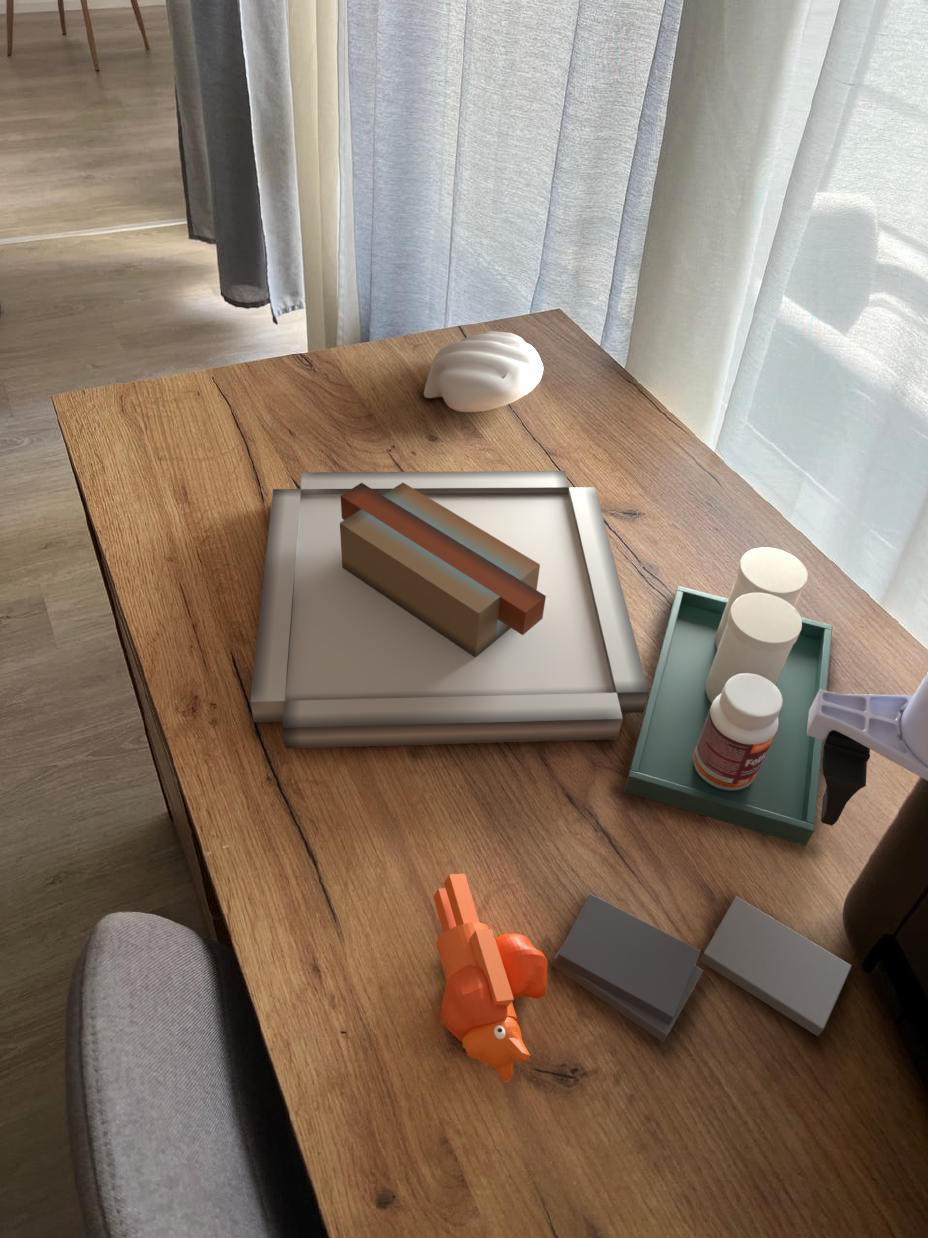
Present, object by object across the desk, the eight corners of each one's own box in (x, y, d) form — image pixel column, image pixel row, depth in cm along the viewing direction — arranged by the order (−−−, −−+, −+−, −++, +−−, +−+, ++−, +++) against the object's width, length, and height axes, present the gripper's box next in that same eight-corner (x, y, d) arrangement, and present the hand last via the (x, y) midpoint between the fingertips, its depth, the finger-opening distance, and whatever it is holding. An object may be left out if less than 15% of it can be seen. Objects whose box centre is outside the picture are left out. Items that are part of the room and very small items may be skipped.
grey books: (845, 973, 61) (858, 957, 60) (778, 1126, 55) (790, 1112, 53) (631, 842, 67) (637, 824, 66) (546, 966, 61) (551, 949, 59)
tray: (805, 846, 68) (814, 831, 66) (623, 792, 70) (628, 776, 69) (825, 641, 82) (832, 625, 81) (673, 601, 84) (677, 585, 83)
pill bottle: (743, 803, 69) (776, 733, 63) (682, 773, 71) (708, 702, 65) (764, 758, 72) (798, 687, 66) (705, 730, 74) (733, 658, 68)
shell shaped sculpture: (563, 403, 105) (571, 350, 101) (479, 445, 99) (483, 391, 95) (484, 353, 112) (488, 302, 107) (400, 389, 106) (400, 336, 101)
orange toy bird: (423, 865, 59) (478, 1061, 51) (528, 860, 62) (595, 1044, 54) (398, 908, 62) (445, 1099, 54) (499, 901, 65) (558, 1080, 57)
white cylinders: (765, 726, 75) (799, 651, 68) (699, 707, 76) (726, 631, 69) (778, 633, 82) (810, 556, 75) (718, 617, 83) (744, 540, 76)
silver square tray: (586, 496, 94) (597, 432, 89) (648, 743, 73) (667, 679, 68) (277, 498, 92) (270, 433, 86) (252, 754, 71) (239, 689, 66)
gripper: (840, 704, 47) (764, 848, 57) (1160, 791, 44) (1022, 926, 54) (847, 608, 52) (776, 757, 61) (1137, 682, 49) (1014, 825, 59)
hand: (891, 830), depth 58 cm, fingers open, 7 cm apart
